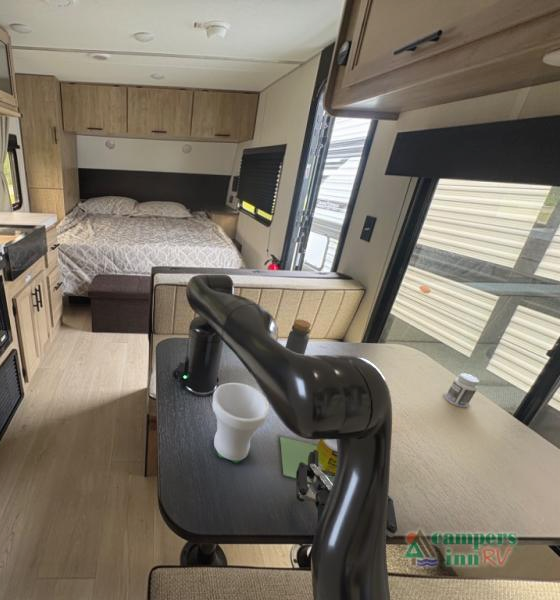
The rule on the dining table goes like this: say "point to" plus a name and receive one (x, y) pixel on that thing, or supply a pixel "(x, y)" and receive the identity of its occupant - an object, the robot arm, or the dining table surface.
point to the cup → (237, 418)
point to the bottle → (298, 337)
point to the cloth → (295, 456)
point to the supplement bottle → (327, 457)
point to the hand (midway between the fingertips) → (339, 462)
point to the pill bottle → (462, 390)
